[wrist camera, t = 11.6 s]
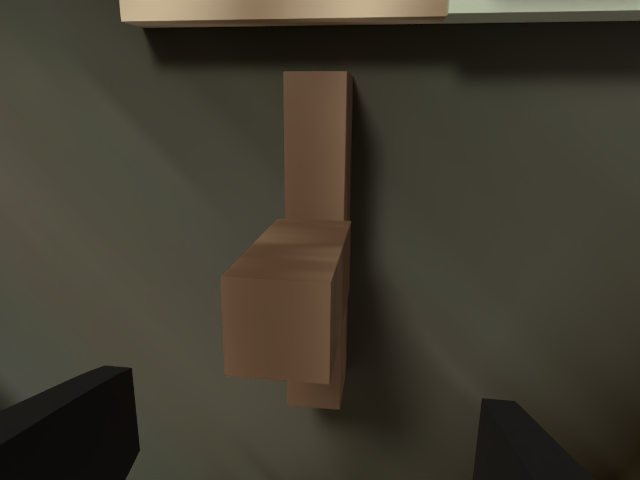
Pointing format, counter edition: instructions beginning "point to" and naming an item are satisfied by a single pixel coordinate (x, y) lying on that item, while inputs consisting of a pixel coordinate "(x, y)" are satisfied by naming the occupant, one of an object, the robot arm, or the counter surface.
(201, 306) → the counter surface
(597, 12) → the tray
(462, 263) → the counter surface
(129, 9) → the slot rails
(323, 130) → the l-shaped wooden block
